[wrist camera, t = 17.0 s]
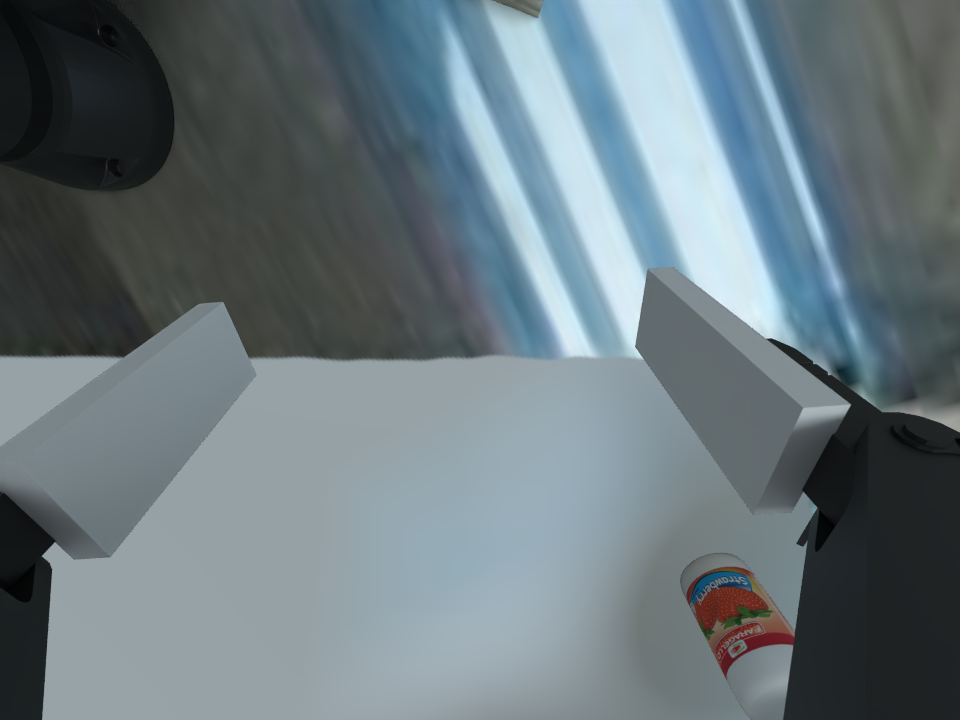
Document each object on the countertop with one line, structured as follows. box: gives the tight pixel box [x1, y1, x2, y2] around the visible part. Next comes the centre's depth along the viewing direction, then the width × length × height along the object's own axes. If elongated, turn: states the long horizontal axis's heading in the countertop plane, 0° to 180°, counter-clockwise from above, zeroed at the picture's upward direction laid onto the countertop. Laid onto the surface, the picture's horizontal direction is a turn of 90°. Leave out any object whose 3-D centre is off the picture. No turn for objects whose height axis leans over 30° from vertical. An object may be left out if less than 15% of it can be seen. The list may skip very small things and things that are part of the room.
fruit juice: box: [681, 553, 795, 720], centre depth 42 cm, size 9×9×28 cm
